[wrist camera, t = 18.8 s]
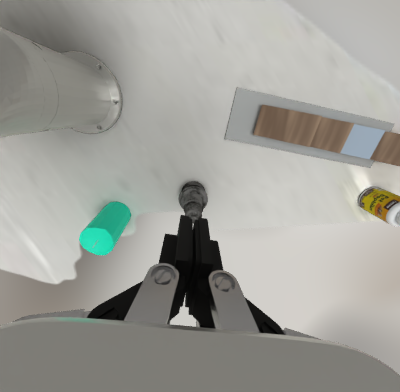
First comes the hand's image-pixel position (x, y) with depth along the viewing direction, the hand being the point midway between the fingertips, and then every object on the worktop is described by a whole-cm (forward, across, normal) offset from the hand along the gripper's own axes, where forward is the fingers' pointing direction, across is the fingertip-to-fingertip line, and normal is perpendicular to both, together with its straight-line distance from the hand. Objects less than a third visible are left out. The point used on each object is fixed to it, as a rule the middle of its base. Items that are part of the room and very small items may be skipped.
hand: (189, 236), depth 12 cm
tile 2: (+28, -17, -8) cm, 34 cm away
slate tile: (+28, -23, -8) cm, 37 cm away
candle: (+29, +14, +17) cm, 37 cm away
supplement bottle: (+29, -42, +3) cm, 51 cm away
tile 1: (+28, -11, -8) cm, 31 cm away
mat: (+29, -22, -8) cm, 37 cm away
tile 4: (+28, -30, -8) cm, 42 cm away
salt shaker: (+29, -2, +9) cm, 31 cm away
